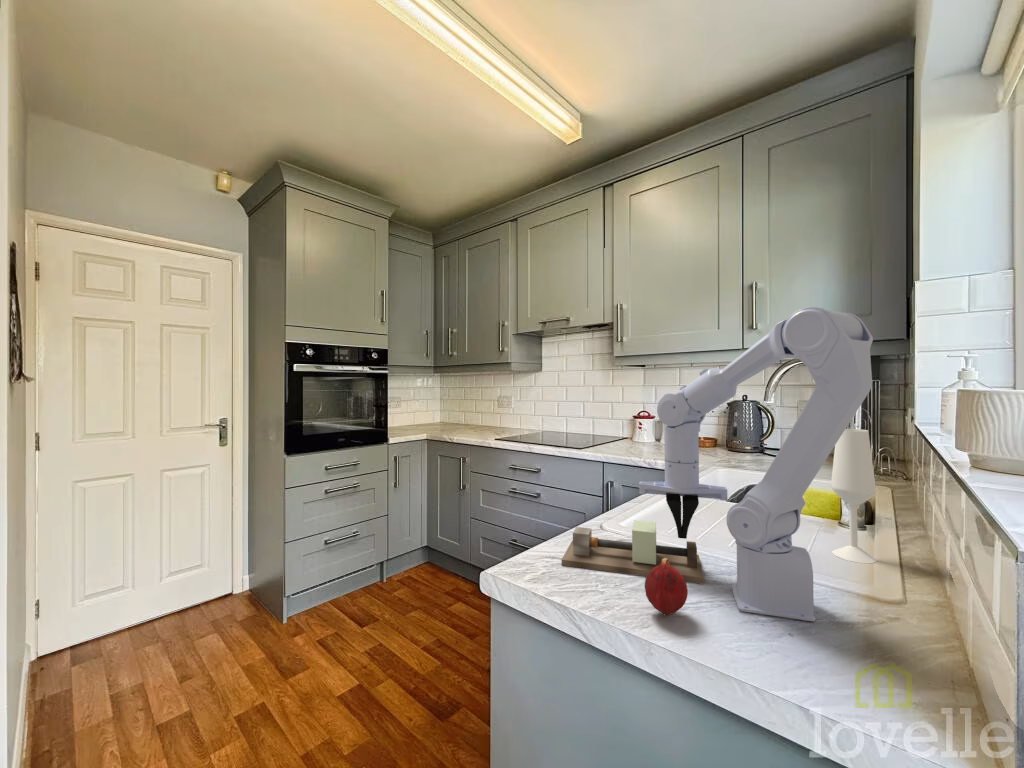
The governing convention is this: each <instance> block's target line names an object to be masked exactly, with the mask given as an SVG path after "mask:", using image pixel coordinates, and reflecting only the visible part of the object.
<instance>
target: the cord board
mask: <svg viewBox="0 0 1024 768" xmlns="http://www.w3.org/2000/svg"><path fill="white" fill-rule="evenodd" d="M592 532H593V531H592V528H591V527H590V528H589V527H580V526H575V529H574V530H573V531H572V541H570V544H569V546H568V547H567V549H566V551H565V553H564V554H563V556H562V558H561V566H565V567H572V568H573V567H574V568H582V569H589V570H597V571H605V572H612V573H620V574H628V575H633V576H634V575H635V576H643V577H647V575H648V573H649V572H650V571H651V570H652V569H653V568H654V567H656V566H658V565H660V564H661V562H662V559H664V558H667V559H668V560H670V562H669V563H670V565H671V566H672V567H674V568H675V569H676V570H677V571H678V572H679V573H680V574H681V575H682V577H683V579H684V580H685V582H686V583H694V584H695V583H696V584H705V583H704V582H705V581H704V580H705V579H704V578H705V577H704V573H703V569H702V564H701V560H700V556H699V554H698V547H697V544H696V542H695V541H689V540H687V541H686V547H677V546H676V547H675V546H667V545H657V544H656V565H655V564H647V563H639V562H632V541H631V542H629V541H620V540H613V539H612V540H611V539H603V538H599V537H595V536H594V537H593V535H592Z"/></svg>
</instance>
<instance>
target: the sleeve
mask: <svg viewBox="0 0 1024 768" xmlns="http://www.w3.org/2000/svg"><path fill="white" fill-rule="evenodd" d="M631 543H632V562H639V563H647V564H655V565H656V545H657V522H655V521H647V520H646V521H645V520H633V524H632V530H631Z"/></svg>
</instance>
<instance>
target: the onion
mask: <svg viewBox="0 0 1024 768" xmlns="http://www.w3.org/2000/svg"><path fill="white" fill-rule="evenodd" d="M669 562H670V560H668V559H667V558H664V559H662V562H661V564H660V565H658V566H656V567H654V568H653V569H652V570H651V571H650V572H649V573H648V575H647V576H645V580H644V592H645V596H646V599H647V600H648V602H649V603H650V604H651V605H652V606H653V608H654V609H656V610H657V612H659V613H661V614H662V615H663V616H670V615H672V614H674V613H676V612H678V611H679V610H681V609H682V608H683V606H684V605H685V604H686V603H687V599H688V595H689V594H688V586H687V582H686V581H685V580H684V579H683V577H682V575H681V574H680V573H679V572H678V571H677V570H676V569H675V568H674V567H672V566H671V565H670V563H669Z"/></svg>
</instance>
